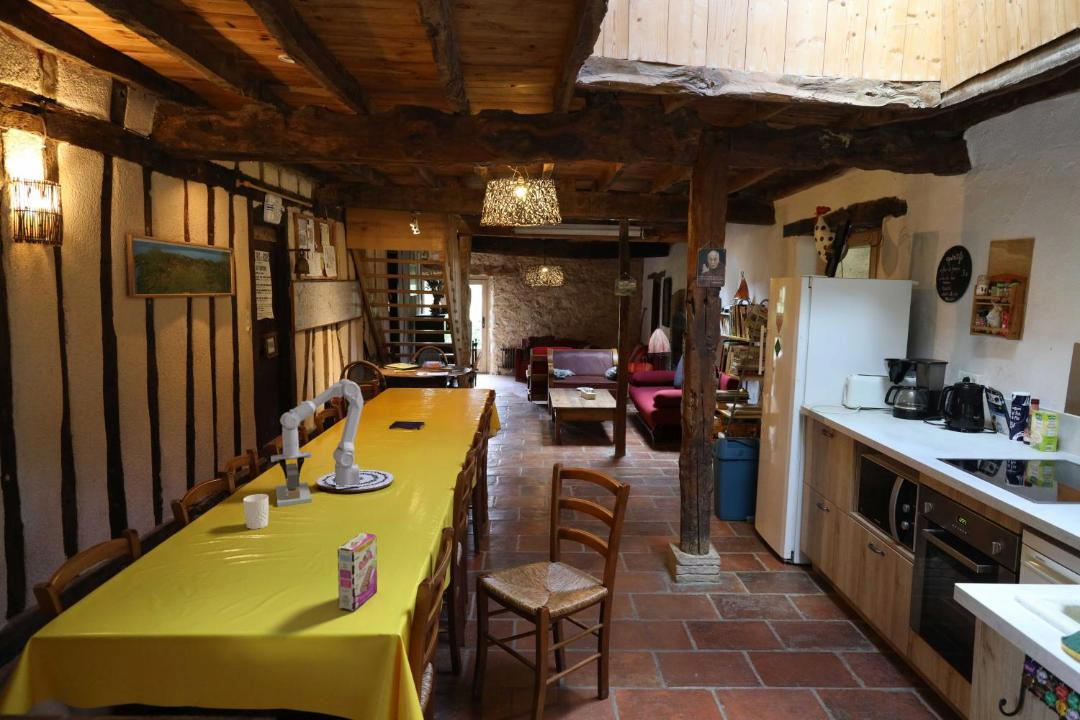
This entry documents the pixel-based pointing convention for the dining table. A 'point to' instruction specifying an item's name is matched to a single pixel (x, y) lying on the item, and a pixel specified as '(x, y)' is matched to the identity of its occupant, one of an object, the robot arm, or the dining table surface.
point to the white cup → (256, 510)
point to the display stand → (293, 494)
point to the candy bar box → (357, 571)
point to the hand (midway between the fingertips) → (292, 477)
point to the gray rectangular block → (292, 475)
